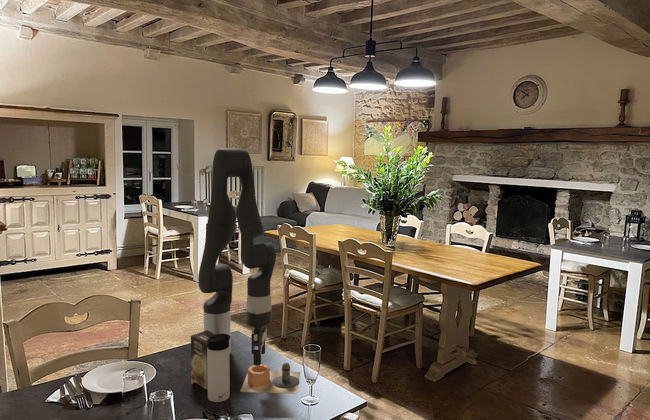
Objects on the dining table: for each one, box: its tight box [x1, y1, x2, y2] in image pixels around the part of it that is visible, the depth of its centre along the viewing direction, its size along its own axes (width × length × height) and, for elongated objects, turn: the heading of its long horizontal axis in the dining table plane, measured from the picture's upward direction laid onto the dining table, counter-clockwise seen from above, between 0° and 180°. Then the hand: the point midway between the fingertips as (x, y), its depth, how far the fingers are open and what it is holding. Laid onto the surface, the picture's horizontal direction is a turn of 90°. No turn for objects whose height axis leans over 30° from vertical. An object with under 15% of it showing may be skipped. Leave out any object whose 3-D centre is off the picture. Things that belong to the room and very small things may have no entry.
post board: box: [239, 362, 301, 395], centre depth 149 cm, size 17×14×8 cm
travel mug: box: [207, 334, 231, 403], centre depth 138 cm, size 6×7×20 cm
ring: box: [247, 363, 271, 386], centre depth 149 cm, size 6×6×4 cm
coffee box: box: [190, 330, 216, 391], centre depth 148 cm, size 9×6×16 cm
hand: (259, 359), depth 148 cm, fingers open, 8 cm apart
